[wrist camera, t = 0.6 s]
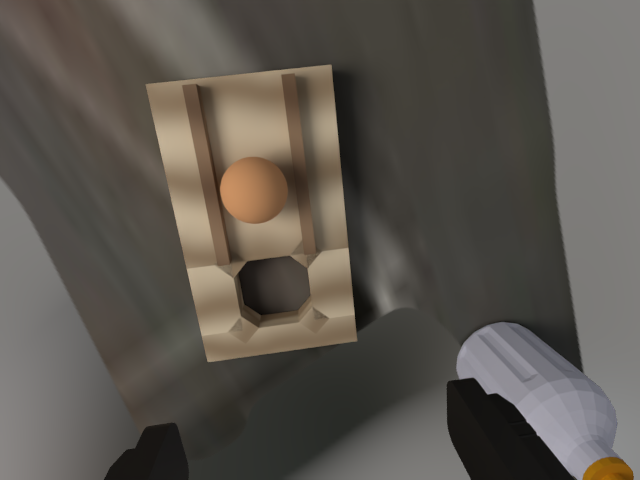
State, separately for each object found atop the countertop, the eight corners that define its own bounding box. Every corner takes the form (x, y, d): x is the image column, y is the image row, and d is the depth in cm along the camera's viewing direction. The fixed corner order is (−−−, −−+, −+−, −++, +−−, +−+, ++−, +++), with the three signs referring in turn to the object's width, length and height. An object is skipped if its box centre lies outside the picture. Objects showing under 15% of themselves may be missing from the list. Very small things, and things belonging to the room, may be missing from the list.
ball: (221, 158, 30) (207, 163, 25) (283, 151, 30) (282, 154, 25) (231, 219, 31) (221, 235, 26) (291, 212, 31) (292, 226, 26)
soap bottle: (548, 367, 41) (904, 687, 17) (474, 407, 41) (720, 767, 18) (518, 304, 38) (886, 575, 15) (440, 347, 39) (673, 674, 15)
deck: (157, 88, 30) (139, 82, 27) (328, 70, 31) (333, 61, 27) (213, 347, 37) (204, 370, 33) (352, 327, 37) (359, 347, 34)
